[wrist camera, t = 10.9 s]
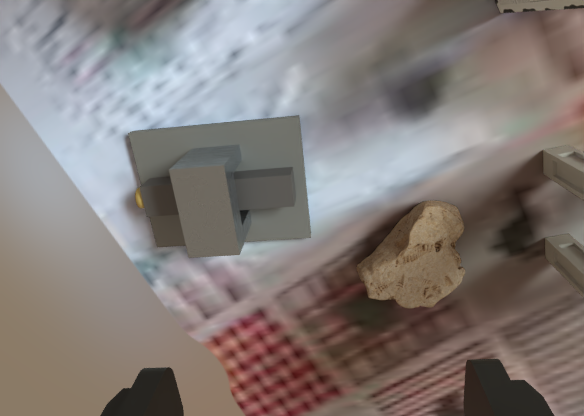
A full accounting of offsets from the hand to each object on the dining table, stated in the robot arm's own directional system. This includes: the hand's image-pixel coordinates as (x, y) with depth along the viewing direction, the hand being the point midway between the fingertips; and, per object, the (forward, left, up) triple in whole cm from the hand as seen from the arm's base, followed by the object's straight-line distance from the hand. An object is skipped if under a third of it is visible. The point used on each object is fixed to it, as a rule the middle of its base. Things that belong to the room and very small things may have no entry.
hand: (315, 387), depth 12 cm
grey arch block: (+4, -10, -29) cm, 31 cm away
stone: (+12, +7, -30) cm, 34 cm away
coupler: (+4, -10, -30) cm, 32 cm away
